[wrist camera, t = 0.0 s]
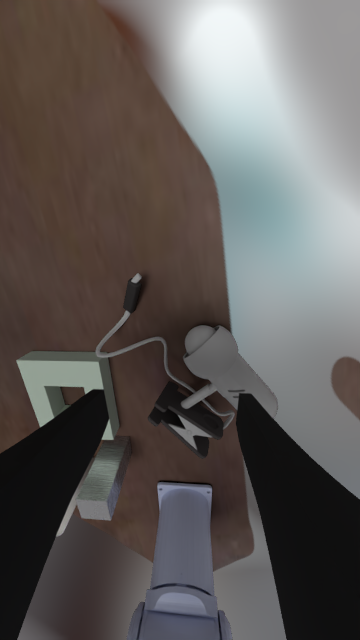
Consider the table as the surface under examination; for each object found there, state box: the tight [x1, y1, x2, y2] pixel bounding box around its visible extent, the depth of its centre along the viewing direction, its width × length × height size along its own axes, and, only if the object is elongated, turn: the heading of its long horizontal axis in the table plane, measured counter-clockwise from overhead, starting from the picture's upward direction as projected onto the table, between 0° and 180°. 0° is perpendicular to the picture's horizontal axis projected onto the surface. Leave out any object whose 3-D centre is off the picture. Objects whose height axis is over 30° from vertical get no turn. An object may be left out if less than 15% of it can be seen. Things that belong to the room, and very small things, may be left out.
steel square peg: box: [76, 436, 132, 520], centre depth 22 cm, size 3×3×7 cm
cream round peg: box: [56, 457, 95, 536], centre depth 24 cm, size 5×5×7 cm
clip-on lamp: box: [95, 273, 278, 459], centre depth 18 cm, size 12×6×18 cm
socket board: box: [16, 351, 119, 440], centre depth 22 cm, size 11×9×2 cm
